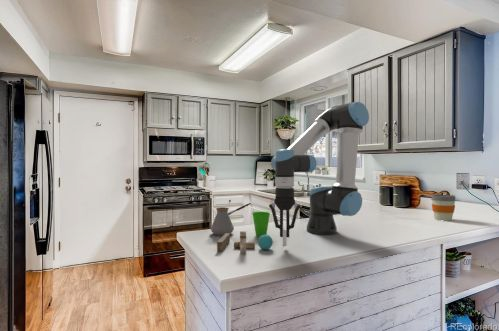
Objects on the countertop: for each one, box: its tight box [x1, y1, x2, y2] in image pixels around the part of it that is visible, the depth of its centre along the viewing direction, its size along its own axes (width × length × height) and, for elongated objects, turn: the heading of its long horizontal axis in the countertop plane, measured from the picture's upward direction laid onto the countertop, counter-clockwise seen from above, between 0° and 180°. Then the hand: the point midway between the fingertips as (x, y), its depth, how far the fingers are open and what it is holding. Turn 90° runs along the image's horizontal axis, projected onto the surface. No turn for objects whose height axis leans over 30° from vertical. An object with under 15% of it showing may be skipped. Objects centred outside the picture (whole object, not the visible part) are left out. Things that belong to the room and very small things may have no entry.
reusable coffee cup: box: [430, 193, 457, 222], centre depth 175 cm, size 13×13×15 cm
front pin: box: [233, 241, 256, 250], centre depth 117 cm, size 2×2×8 cm
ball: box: [257, 234, 274, 250], centre depth 115 cm, size 6×6×6 cm
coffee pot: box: [210, 202, 253, 236], centre depth 142 cm, size 21×12×15 cm, turn 108°
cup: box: [251, 210, 271, 237], centre depth 137 cm, size 9×9×11 cm
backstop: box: [216, 233, 231, 253], centre depth 119 cm, size 2×14×4 cm, turn 171°
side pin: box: [239, 230, 247, 255], centre depth 110 cm, size 2×2×8 cm
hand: (284, 245), depth 115 cm, fingers closed
